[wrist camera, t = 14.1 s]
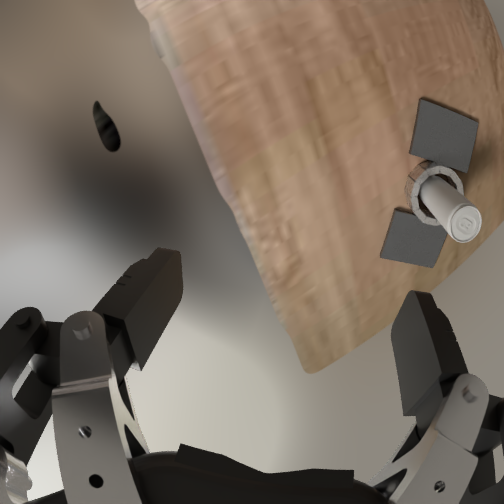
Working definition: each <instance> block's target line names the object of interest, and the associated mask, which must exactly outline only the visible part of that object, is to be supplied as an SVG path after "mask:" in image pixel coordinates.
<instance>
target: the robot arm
mask: <svg viewBox="0 0 504 504" xmlns="http://www.w3.org/2000/svg"><path fill="white" fill-rule="evenodd" d="M182 294H183V279H182V265H181V254H180V252H179V251H177V250H171V249H166V248H160V247H158V248H157V249H156V250H155V251H154V252H153V253H152V254H151V255H150V257H149V258H148V259H141V260H140V261H138V262H136V263H134V264H133V265H131V266H130V267H129V268H128V269H127V271H125V273H124V274H123V276H121V277H120V278H119V279H118V280H117V282H116V284H114V285H113V286H112V287H111V289H110V290H109V291H108V292H107V293H106V294H105V296H104V297H103V298H102V299H101V300H100V301H99V303H98V304H97V305H96V306H95V307H94V309H93V310H92V311H80V312H77V313H75V314H73V315H71V316H70V317H68V318H67V319H66V320H65V321H64V322H50V321H44V318H43V316H42V314H41V312H40V311H39V310H38V309H37V308H34V307H26V308H22V309H20V310H18V311H17V312H15V313H14V314H13V315H12V316H11V317H10V318H9V320H8V321H7V322H6V323H5V324H4V326H3V327H2V328H1V329H0V504H504V476H503V478H502V479H501V480H500V481H499V482H498V483H496V480H495V468H494V458H493V449H495V448H496V447H497V446H499V445H500V444H502V448H503V455H504V398H500V397H497V396H493V395H490V394H489V393H488V390H487V387H486V386H485V384H484V382H483V381H482V380H481V379H480V378H478V377H477V376H475V375H473V374H469V373H468V370H467V367H466V364H465V361H464V358H463V356H462V352H461V350H460V347H459V344H458V342H456V337H455V334H454V332H453V329H452V327H451V324H450V322H449V320H448V318H447V317H446V316H445V314H444V313H443V312H442V311H441V310H440V309H439V308H437V306H436V304H435V301H434V299H433V297H432V295H431V294H430V293H427V292H420V291H414V290H411V291H409V293H408V294H407V296H406V298H405V300H404V302H403V304H402V307H401V309H400V311H399V313H398V315H397V317H396V319H395V321H394V323H393V326H392V330H391V341H392V346H393V351H394V356H395V362H396V367H397V373H398V379H399V386H400V393H401V400H402V408H403V416H416V422H415V423H414V424H413V426H412V427H411V428H410V430H409V431H408V433H407V434H406V436H405V437H404V439H403V441H402V442H401V444H400V445H399V447H398V448H397V449H396V451H395V452H394V454H393V455H392V457H391V458H390V459H389V461H388V462H387V463H386V465H385V466H384V467H383V468H382V469H381V470H380V471H379V472H378V473H377V474H376V475H375V476H374V477H373V478H372V479H371V480H370V481H369V482H368V483H367V484H365V483H363V482H360V481H358V480H355V479H354V470H329V469H307V470H299V471H291V472H282V473H263V472H261V471H258V470H256V469H253V468H251V467H248V466H246V465H244V464H242V463H239V462H237V461H235V460H233V459H231V458H229V457H227V456H224V455H222V454H217V453H214V452H209V451H205V450H202V449H198V448H194V447H191V446H188V445H184V444H180V446H179V449H178V452H176V451H164V452H163V451H162V452H155V453H150V452H149V449H148V446H147V443H146V441H145V439H144V436H143V434H142V432H141V430H140V427H139V424H138V421H137V417H136V414H135V410H134V407H133V403H132V399H131V395H130V391H129V387H128V383H127V378H126V376H125V375H126V373H127V371H128V370H129V368H133V369H135V370H138V371H142V369H143V367H144V365H145V364H146V362H147V360H148V358H149V356H150V354H151V353H152V351H153V349H154V347H155V345H156V344H157V342H158V340H159V338H160V337H161V335H162V333H163V331H164V330H165V328H166V326H167V324H168V322H169V321H170V319H171V317H172V315H173V314H174V312H175V310H176V308H177V307H178V305H179V303H180V301H181V298H182ZM27 364H28V365H29V367H30V368H31V369H32V371H31V372H30V374H29V375H28V377H27V378H26V380H25V381H24V383H23V385H22V386H21V388H20V390H19V391H18V393H17V395H16V397H15V398H14V399H13V397H12V388H13V386H14V384H15V382H16V381H17V379H18V378H19V376H20V374H21V373H22V371H23V370H24V368H25V367H26V365H27ZM52 413H53V423H54V432H55V440H56V448H57V455H58V460H59V466H60V472H61V477H62V481H63V486H64V489H63V490H61V491H58V492H55V493H53V494H50V495H47V496H44V497H41V498H38V499H35V500H32V501H28V498H27V490H30V489H31V487H32V481H31V478H30V477H29V476H28V471H27V469H26V467H27V464H28V462H29V460H30V458H31V456H32V453H33V451H34V449H35V447H36V445H37V443H38V441H39V439H40V437H41V435H42V433H43V431H44V429H45V427H46V425H47V423H48V421H49V419H50V417H51V415H52Z"/></svg>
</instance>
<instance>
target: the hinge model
mask: <svg viewBox="0 0 504 504" xmlns="http://www.w3.org/2000/svg"><path fill="white" fill-rule="evenodd" d="M477 128H478V122H475V121H473V120H471V119H469V118H467V117H465V116H462V115H460V114H458V113H455V112H453V111H450V110H448V109H446V108H443V107H441V106H438V105H435V104H433V103H430V102H427V101H424V100H422V99H419V103H418V109H417V115H416V121H415V126H414V131H413V136H412V141H411V146H410V150H409V153H410V154H412V155H415V156H418V157H421V158H425V159H428V160H431V161H428V162H424V163H421V164H419V165H417V166H416V167H415V168H414V169H413V171H412V172H411V173H410V174H409V176H408V178H407V182H406V186H405V195H406V200H407V204H408V206H409V207H410V208H411V210H412V211H413V212H414V213H415V214H413V213H409V212H405V211H401V210H397V209H394V212H393V215H392V219H391V222H390V225H389V228H388V231H387V235H386V238H385V241H384V244H383V247H382V250H381V252H380V258H384V259H389V260H394V261H400V262H405V263H410V264H415V265H420V266H425V267H430V268H433V267H434V265H435V262H436V260H437V258H438V255H439V253H440V250H441V248H442V246H443V243H444V241H445V238H446V235H447V233H448V232H447V231H446V230H445V229H444V227H443V226H442V225H441V224H440V222H439V221H438V220H437V219H436V218H435V216H434V215H433V214H432V213H431V211H427V210H423V209H420V208H419V204H418V199H417V196H418V193H419V189H420V185H421V184H422V183H423V182H424V181H425V180H426V179H427V178H428V177H429V176H431V175H434V174H438V173H442V174H445V175H446V176H447V178H448V180H449V184H450V185H451V186H452V187H453V188H455V189H456V190H457V191H458V192H459V193H461V194H462V195H463V196H464V192H463V185H462V182H461V180H460V178H459V177H458V176H457V174H456V173H455V172H454V170H452V169H451V168H454V169H457V170H459V171H462V172H465V173H467V171H468V168H469V164H470V160H471V156H472V151H473V147H474V143H475V138H476V133H477ZM449 167H451V168H449Z"/></svg>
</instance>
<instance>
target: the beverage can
mask: <svg viewBox="0 0 504 504" xmlns="http://www.w3.org/2000/svg"><path fill="white" fill-rule="evenodd" d="M419 197H420V199H421V200H422V202H423V203H424V204H425V205H426V207H427V208H428V209H429V210H430V211H431V213H432V214H433V215H434V216H435V218H436V219H437V220H438V221H439V222H440V224H441V225H442V226H443V227H444V229H445V230H446V231H447V232H448V234H449V235H450V236H451V237H452V238H453V239H455V240H456V241H457V242H461V243H465V242H469V241H470V240H472V239H473V238H474V237H475V236H476V235H477V234H478V232H479V230H480V228H481V223H482V218H481V214H480V212H479V211H478V209H477V208H476V206H475V205H474V204H472V203H471V202H470V201H469V200H468V199H467V198H465V197H464V196H463V195H462V194H461V193H459V192H458V191H457V190H456V189H455V188H453V187H452V186H451V185H450V184H448V183H447V182H446V181H444V180H443V179H442V178H440V177H439V176H434V175H432V176H429V177H428V178H427V179H426V180H425V181H424V182H423V183H422V184H421V185H420V189H419Z"/></svg>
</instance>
